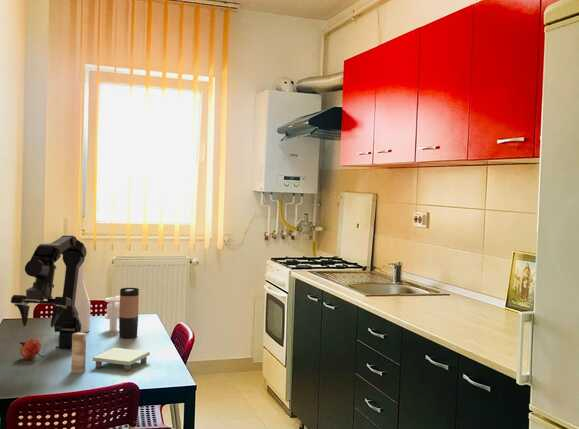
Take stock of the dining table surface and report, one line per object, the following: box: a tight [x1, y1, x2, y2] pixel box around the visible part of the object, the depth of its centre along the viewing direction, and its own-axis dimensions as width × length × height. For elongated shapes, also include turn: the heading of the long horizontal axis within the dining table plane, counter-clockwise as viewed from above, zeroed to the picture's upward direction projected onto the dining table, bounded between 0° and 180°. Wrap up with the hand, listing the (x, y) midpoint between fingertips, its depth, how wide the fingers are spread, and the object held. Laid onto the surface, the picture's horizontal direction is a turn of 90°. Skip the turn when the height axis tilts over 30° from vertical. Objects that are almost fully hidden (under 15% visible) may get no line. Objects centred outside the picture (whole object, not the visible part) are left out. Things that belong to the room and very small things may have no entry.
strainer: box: [104, 295, 120, 332], centre depth 262 cm, size 7×7×15 cm
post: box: [70, 332, 87, 374], centre depth 201 cm, size 4×4×12 cm
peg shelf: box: [92, 347, 151, 373], centre depth 210 cm, size 14×14×4 cm
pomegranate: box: [19, 338, 44, 361], centre depth 214 cm, size 7×7×10 cm
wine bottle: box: [75, 262, 91, 333], centre depth 257 cm, size 10×10×30 cm
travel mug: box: [118, 287, 140, 340], centre depth 251 cm, size 8×8×20 cm
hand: (38, 326), depth 204 cm, fingers open, 9 cm apart
